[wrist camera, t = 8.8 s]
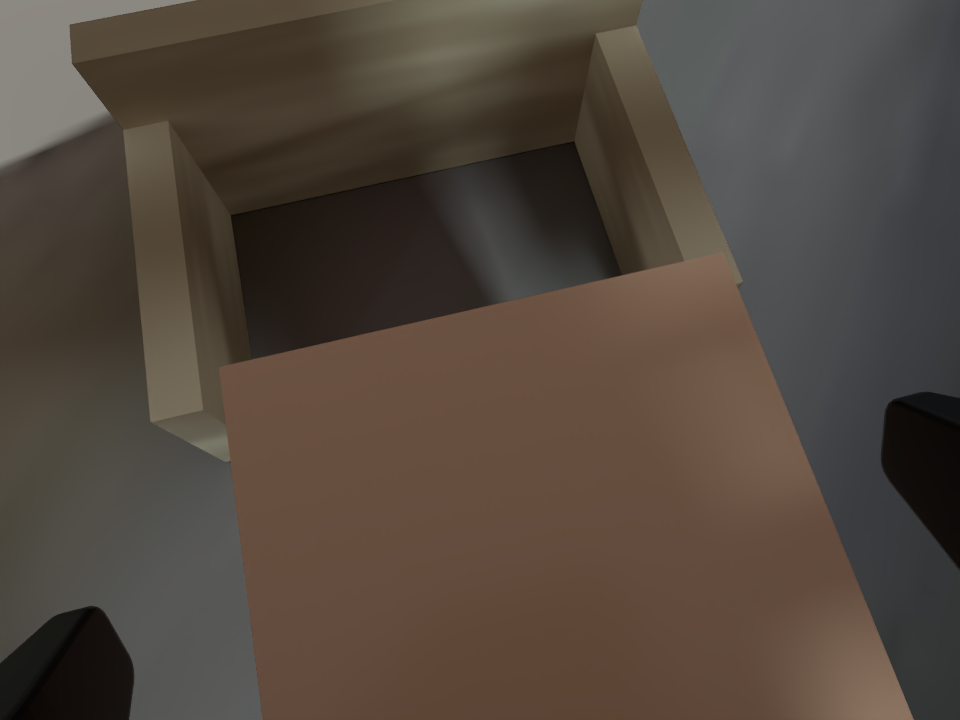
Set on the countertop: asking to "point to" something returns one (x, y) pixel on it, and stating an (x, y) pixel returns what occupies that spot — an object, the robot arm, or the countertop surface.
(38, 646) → the robot arm
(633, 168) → the cubby
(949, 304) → the countertop surface
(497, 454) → the brown rectangular block
